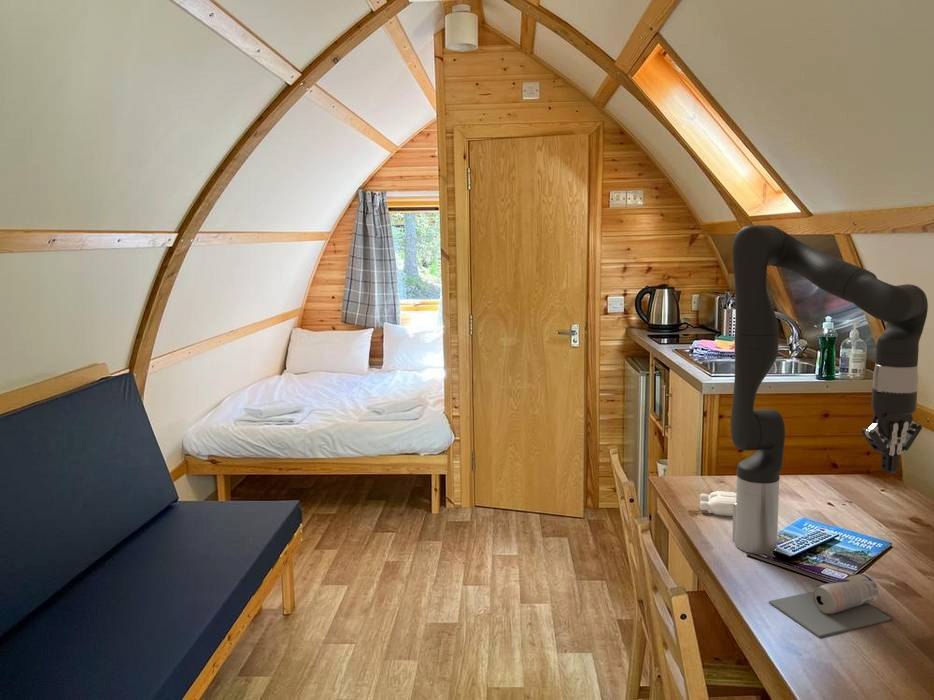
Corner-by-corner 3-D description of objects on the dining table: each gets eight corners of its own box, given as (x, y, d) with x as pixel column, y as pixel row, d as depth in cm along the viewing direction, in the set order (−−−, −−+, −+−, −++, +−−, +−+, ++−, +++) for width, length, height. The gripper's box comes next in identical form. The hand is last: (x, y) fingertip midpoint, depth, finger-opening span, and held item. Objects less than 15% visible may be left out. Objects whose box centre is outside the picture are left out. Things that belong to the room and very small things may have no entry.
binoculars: (765, 522, 177) (766, 505, 177) (700, 516, 183) (700, 499, 182) (762, 507, 187) (762, 491, 186) (700, 502, 192) (700, 486, 192)
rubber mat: (768, 603, 138) (768, 601, 138) (836, 588, 143) (836, 586, 143) (818, 637, 126) (818, 635, 126) (890, 620, 131) (891, 618, 131)
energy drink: (851, 574, 140) (807, 587, 136) (873, 572, 136) (828, 585, 131) (861, 601, 139) (817, 615, 134) (884, 600, 134) (839, 614, 130)
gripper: (904, 380, 140) (899, 462, 143) (851, 386, 137) (847, 470, 139) (938, 387, 133) (932, 473, 136) (883, 394, 129) (878, 482, 132)
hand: (889, 471), depth 137 cm, fingers closed
